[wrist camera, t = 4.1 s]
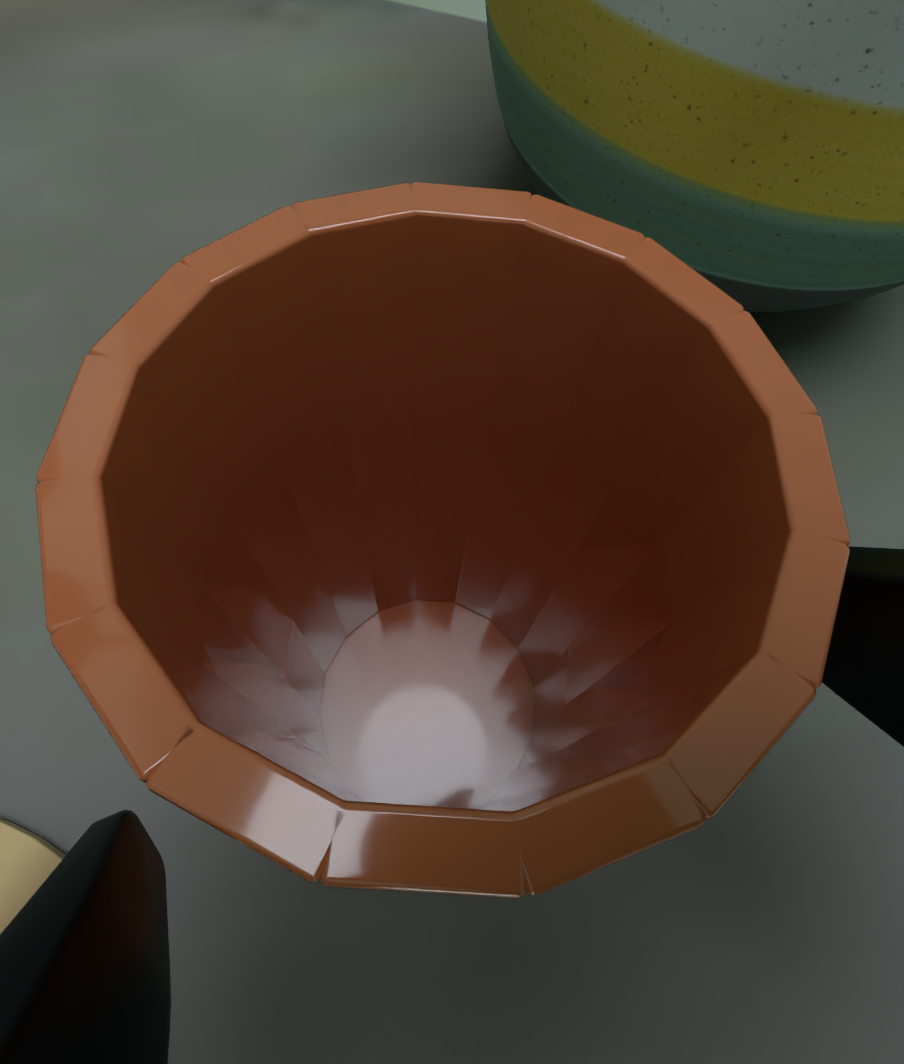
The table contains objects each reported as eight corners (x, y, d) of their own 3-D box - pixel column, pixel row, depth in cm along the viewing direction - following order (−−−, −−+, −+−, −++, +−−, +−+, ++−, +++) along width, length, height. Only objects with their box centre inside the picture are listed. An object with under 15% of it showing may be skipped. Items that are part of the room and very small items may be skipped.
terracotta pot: (581, 652, 18) (903, 325, 6) (486, 890, 15) (730, 1126, 3) (379, 556, 19) (319, 110, 7) (257, 764, 16) (-169, 608, 4)
